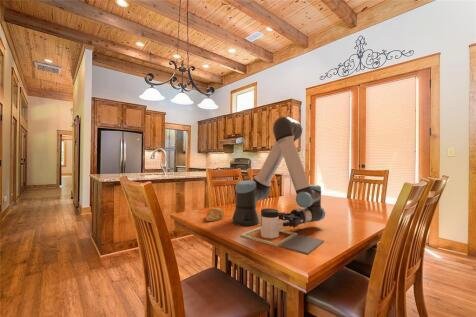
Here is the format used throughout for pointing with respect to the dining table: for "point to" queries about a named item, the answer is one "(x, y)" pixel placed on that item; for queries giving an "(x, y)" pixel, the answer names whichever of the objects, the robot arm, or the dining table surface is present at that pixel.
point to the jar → (269, 223)
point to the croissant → (215, 214)
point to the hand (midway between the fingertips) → (267, 221)
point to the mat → (302, 244)
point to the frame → (269, 241)
